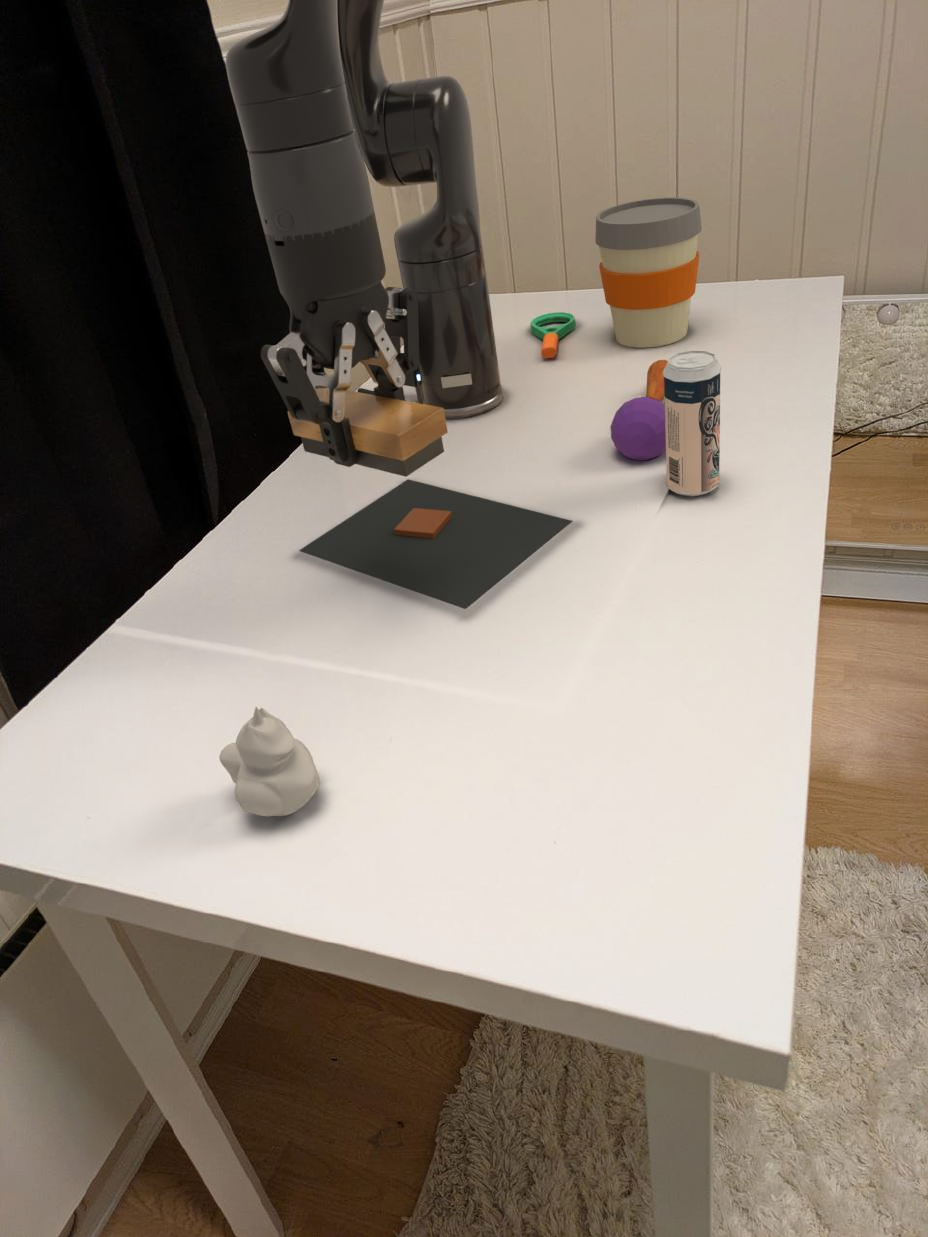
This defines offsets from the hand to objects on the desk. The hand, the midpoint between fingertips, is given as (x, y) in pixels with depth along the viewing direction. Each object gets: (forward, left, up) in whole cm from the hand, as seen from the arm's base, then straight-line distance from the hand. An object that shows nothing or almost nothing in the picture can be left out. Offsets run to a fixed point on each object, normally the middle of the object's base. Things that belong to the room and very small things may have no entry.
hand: (371, 446), depth 70 cm
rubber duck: (+10, -23, -12) cm, 28 cm away
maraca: (+4, +34, -12) cm, 37 cm away
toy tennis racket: (-21, +53, -12) cm, 59 cm away
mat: (-2, +6, -12) cm, 14 cm away
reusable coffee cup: (-10, +58, -12) cm, 60 cm away
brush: (0, 0, 0) cm, 0 cm away
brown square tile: (-4, +7, -12) cm, 14 cm away
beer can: (+14, +24, -12) cm, 31 cm away
